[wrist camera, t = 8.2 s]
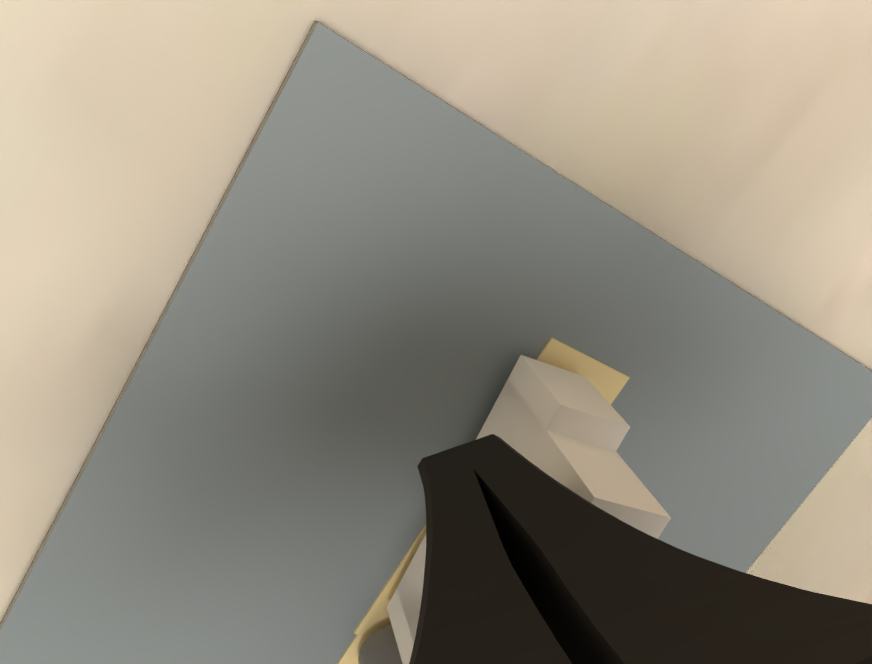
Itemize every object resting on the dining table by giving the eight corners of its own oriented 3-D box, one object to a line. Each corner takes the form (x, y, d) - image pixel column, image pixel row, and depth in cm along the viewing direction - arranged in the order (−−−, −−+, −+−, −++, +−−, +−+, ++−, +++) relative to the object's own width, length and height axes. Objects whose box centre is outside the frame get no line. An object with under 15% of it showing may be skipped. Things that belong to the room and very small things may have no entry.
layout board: (884, 379, 20) (898, 387, 19) (551, 792, 23) (557, 806, 23) (315, 20, 13) (318, 23, 12) (-31, 683, 16) (-37, 701, 16)
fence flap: (415, 685, 19) (462, 850, 15) (345, 676, 18) (379, 848, 15) (588, 377, 16) (693, 492, 13) (516, 353, 16) (606, 467, 12)
